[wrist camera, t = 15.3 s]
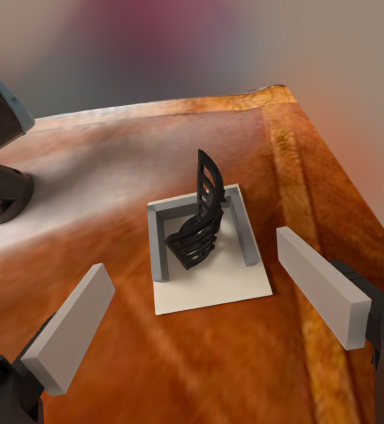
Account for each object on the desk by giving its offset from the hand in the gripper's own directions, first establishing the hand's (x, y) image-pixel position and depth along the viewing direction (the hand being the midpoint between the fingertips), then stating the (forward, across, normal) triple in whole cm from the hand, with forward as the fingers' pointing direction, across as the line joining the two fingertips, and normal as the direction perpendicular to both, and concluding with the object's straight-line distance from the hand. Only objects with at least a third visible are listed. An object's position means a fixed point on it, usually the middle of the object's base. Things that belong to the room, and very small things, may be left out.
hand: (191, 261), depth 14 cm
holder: (+20, 0, -10) cm, 22 cm away
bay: (+21, 0, -11) cm, 23 cm away
